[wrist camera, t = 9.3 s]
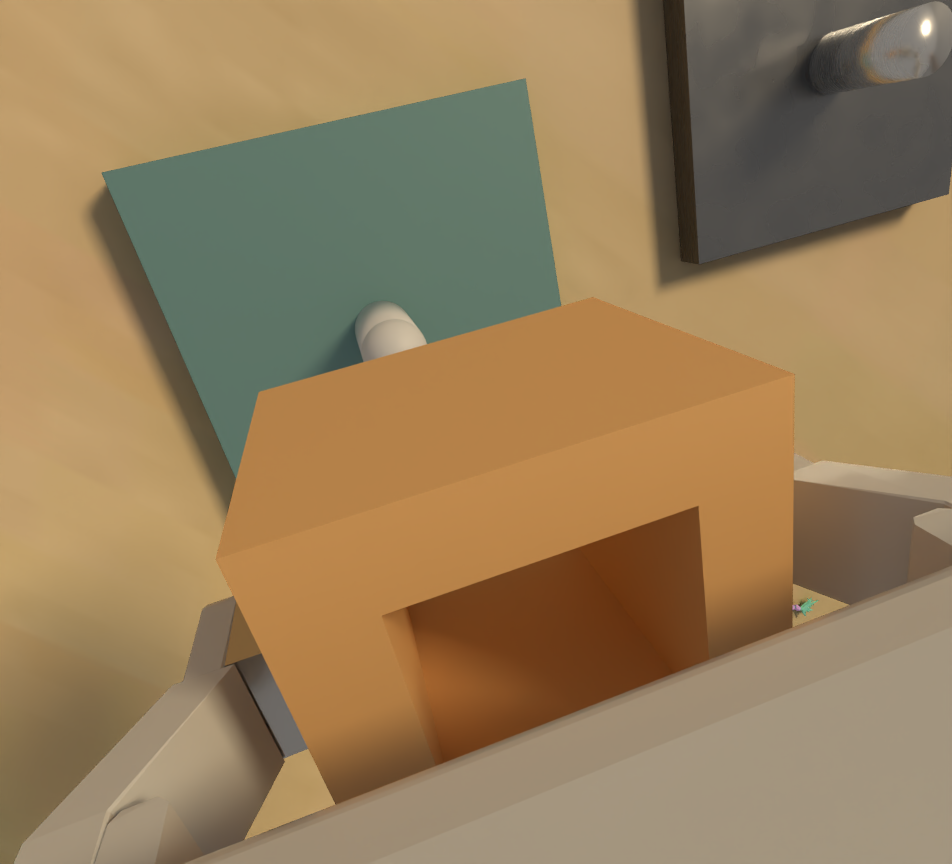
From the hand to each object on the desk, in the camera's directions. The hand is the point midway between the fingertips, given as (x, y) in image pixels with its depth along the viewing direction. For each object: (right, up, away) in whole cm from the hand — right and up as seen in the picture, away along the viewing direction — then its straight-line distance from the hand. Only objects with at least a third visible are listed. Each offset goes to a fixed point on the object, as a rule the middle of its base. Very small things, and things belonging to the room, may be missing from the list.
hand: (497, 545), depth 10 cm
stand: (+15, +18, +18) cm, 30 cm away
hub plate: (-5, +7, +17) cm, 19 cm away
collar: (0, +1, +2) cm, 2 cm away
